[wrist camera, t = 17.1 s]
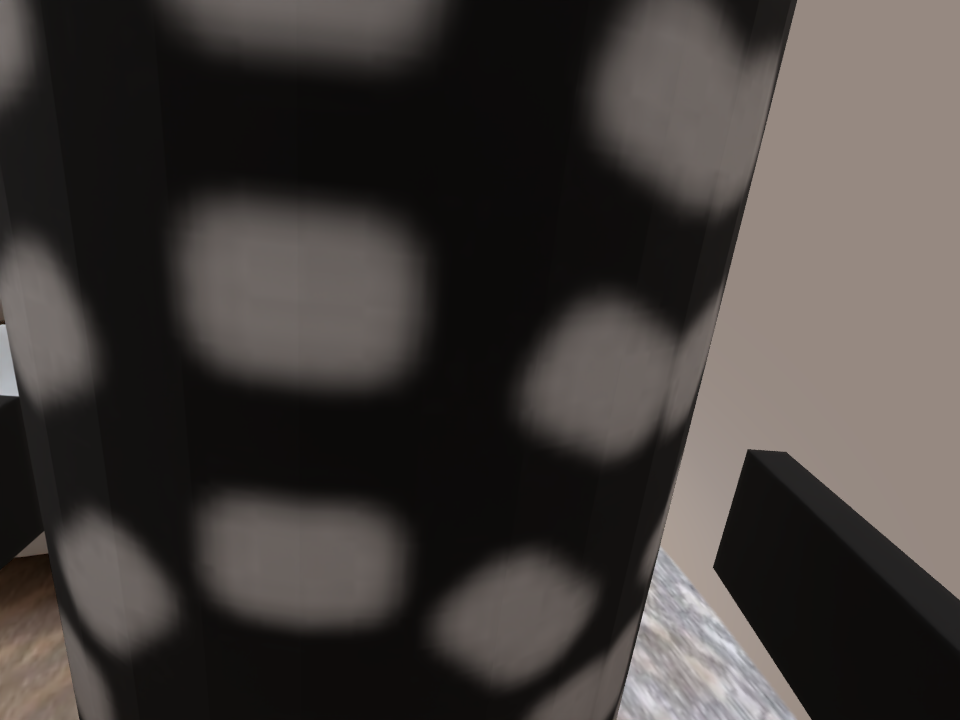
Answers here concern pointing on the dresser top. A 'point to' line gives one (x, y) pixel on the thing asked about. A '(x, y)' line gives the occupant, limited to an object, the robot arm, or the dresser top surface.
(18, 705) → the dresser top surface
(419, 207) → the spotted tube
